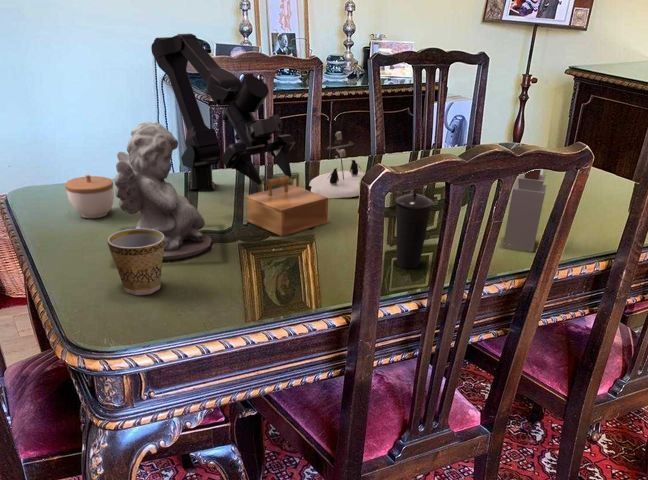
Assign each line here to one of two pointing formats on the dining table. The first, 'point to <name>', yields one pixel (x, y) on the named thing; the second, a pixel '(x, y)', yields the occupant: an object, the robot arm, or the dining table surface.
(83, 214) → the trinket box
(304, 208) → the chest
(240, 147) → the robot arm
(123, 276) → the ceramic cup
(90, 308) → the dining table surface
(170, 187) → the angel statue
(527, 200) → the perfume bottle
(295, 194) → the lid
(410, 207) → the drinking cup
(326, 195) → the figurine
